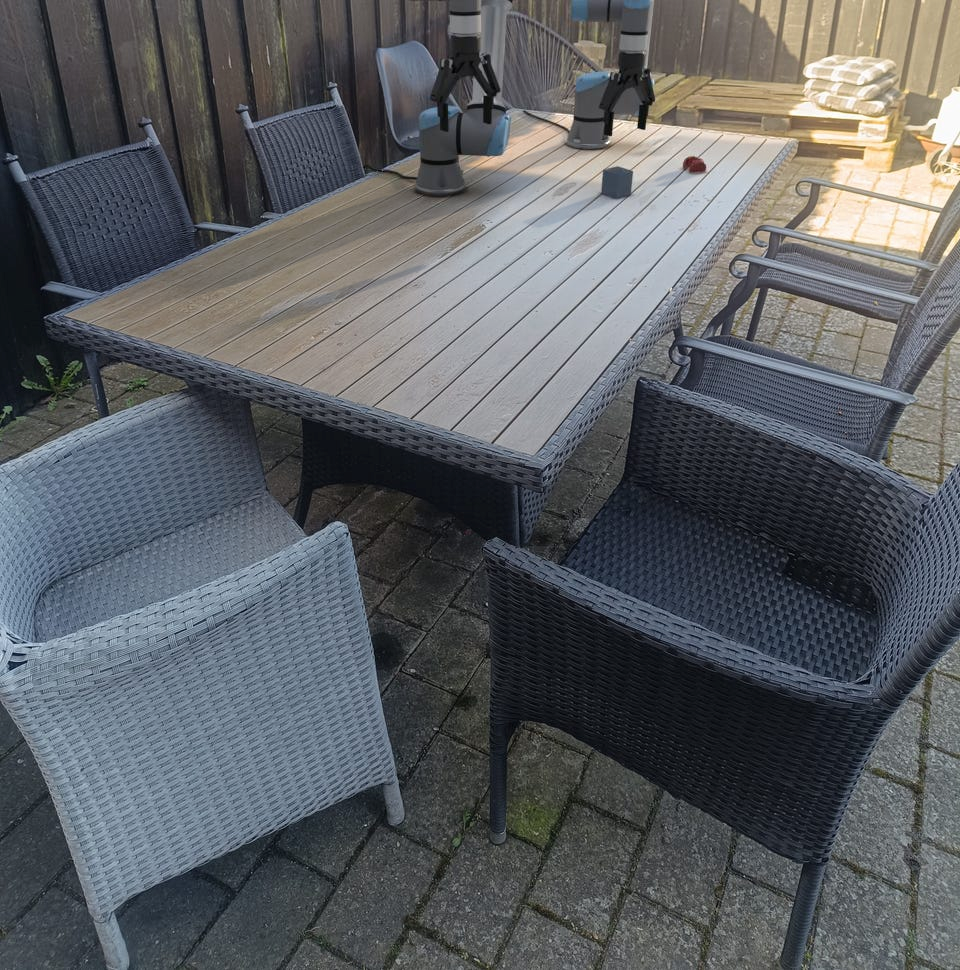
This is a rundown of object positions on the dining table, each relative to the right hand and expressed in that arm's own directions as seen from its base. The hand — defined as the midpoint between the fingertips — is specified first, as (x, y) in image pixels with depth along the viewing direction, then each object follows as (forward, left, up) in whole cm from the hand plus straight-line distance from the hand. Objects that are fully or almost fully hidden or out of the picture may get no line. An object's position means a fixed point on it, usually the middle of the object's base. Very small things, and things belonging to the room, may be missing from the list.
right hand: (624, 132), depth 246 cm
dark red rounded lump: (-23, +29, -17) cm, 41 cm away
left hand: (+28, -47, +8) cm, 55 cm away
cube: (+1, -1, -17) cm, 17 cm away
